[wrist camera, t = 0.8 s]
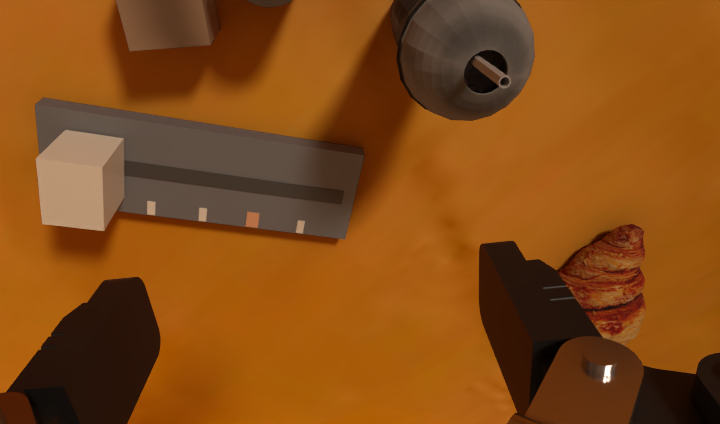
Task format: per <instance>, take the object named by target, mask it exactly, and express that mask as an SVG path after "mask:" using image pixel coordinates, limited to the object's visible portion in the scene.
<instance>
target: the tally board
mask: <svg viewBox="0 0 720 424" xmlns="http://www.w3.org/2000/svg"><path fill="white" fill-rule="evenodd" d="M35 112H36V123H37V133H38V144H39V155H40V154H41V153H42V152H43V151H44V150H45V149H46V148H47V147H48V146H49V145H50V144H51V143H52V142H53V141H54V140H55V139H56V138H57V137H59V136H60V135H61V134H62V133H63V132H64V131H65V130H71V131H78V132H84V133H91V134H98V135H105V136H111V137H118V138H124V199H123V200H122V202H121V204H120V205H119V207H118V209H117V210H116V211H120V212H128V213H136V214H144V215H153V216H161V217H169V218H177V219H185V220H193V221H201V222H209V223H217V224H225V225H234V226H242V227H250V228H258V229H266V230H274V231H282V232H290V233H298V234H307V235H315V236H323V237H331V238H339V239H345V237H346V233H347V229H348V225H349V220H350V216H351V212H352V207H353V203H354V199H355V195H356V190H357V186H358V182H359V177H360V173H361V169H362V165H363V160H364V156H365V155H364V151H363V148H359V147H353V146H346V145H340V144H334V143H327V142H321V141H315V140H308V139H302V138H296V137H289V136H283V135H277V134H270V133H264V132H258V131H251V130H245V129H239V128H232V127H226V126H220V125H213V124H207V123H201V122H194V121H188V120H182V119H175V118H169V117H163V116H156V115H150V114H144V113H137V112H131V111H125V110H118V109H112V108H106V107H99V106H93V105H87V104H80V103H74V102H68V101H61V100H55V99H49V98H43V99H41V100H40V101H39V102H37V103H36V104H35Z"/></svg>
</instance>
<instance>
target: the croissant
mask: <svg viewBox="0 0 720 424" xmlns="http://www.w3.org/2000/svg"><path fill="white" fill-rule="evenodd" d="M643 233H644V231H643V230H642V229H641V228H640V227H638V226H636V225H633V224H630V225H624V226H620V227H618V228H615V229H614V230H613V231H612V232H610V233H609V234H608V235H606V236H605V237H603V238H602V239H601V240H600V241H597V242H595V243H593V244H590V245H588V246H587V247H585V248H582V250H581V251H580V252H579V253H578V254H576V256H575V257H574V259H573V260H572V261H571V262H570V263H569V265H568V266H566V267H564V268H563V269H562V270H560V271H559V273H558V274H559V275H560V277H561V278H562V279H563V281H564V282H565V284H566V287H568V288H569V289H570V291H571V292H572V294H573V295H574V299H576V300H577V301H578V302H579V304H580V305H581V307H582V308H583V310H584V311H585V312H586V314H587V315H588V317H589V318H590V320H591V321H592V323H593V324H594V325H595V327H596V328H597V330H598V331H599V333H600V334H601V335H602V337H603V338H606V339H610V340H613V341H615V342H618V343H620V344H622V345H626V344H627V343H628V342H629V341H630V340H631V339H635V338H636V335H637V334H638V332H639V331H640V325H641V323H642V320H643V319H644V316H645V311H646V306H645V302H644V297H643V294H642V289H643V287H644V283H645V279H644V276H643V274H642V272H641V270H640V267H639V266H640V265H641V264H642V263H643V260H644V257H645V249H644V245H643Z"/></svg>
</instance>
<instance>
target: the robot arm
mask: <svg viewBox="0 0 720 424" xmlns="http://www.w3.org/2000/svg"><path fill="white" fill-rule="evenodd" d="M479 307H480V314H481V319H482V323H483V326H484V328H485V331H486V334H487V336H488V339H489V341H490V344H491V346H492V349H493V351H494V354H495V357H496V359H497V362H498V364H499V367H500V369H501V372H502V374H503V377H504V379H505V382H506V385H507V387H508V390H509V392H510V395H511V397H512V400H513V402H514V405H515V408H516V410H517V413H515V414H514V415H513V416H512V417H511V418H510V419H509V421H508V423H507V424H720V353H715V354H711V355H708V356H706V357H704V358H703V359H702V360H701V361H700V362H699V364H698V367H697V371H696V374H691V373H683V372H676V371H668V370H661V369H655V368H650V367H646V366H643V365H642V362H641V361H640V359H639V358H638V356H637V355H636V354H635V353H634V352H632V351H631V350H630V349H629V348H627V347H625V346H624V345H622V344H620V343H618V342H615V341H613V340H610V339H606V338H603V337H602V335H601V334H600V333H599V331H598V330H597V328H596V327H595V325H594V324H593V323H592V321H591V320H590V318H589V317H588V315H587V314H586V312H585V311H584V310H583V308H582V307H581V305H580V304H579V302H578V301H577V300H576V299H574V295H573V294H572V292H571V291H570V289H569V288H568V287H566V284H565V282H564V281H563V279H562V278H561V277H560V275H559V274H558V272H557V271H556V270H555V269H553V268H552V267H550V266H549V265H547V264H545V263H544V262H542V261H541V260H539V259H537V260H527V261H526V260H525V258H524V256H523V255H522V253H521V251H520V250H519V248H518V247H517V245H516V243H515V242H514V241H505V242H495V243H485V244H481V245H480V250H479ZM159 350H160V332H159V328H158V325H157V322H156V319H155V316H154V312H153V309H152V306H151V303H150V300H149V297H148V294H147V291H146V288H145V285H144V283H143V281H142V280H141V279H140V278H139V277H131V278H121V279H111V280H105V281H103V282H102V283H101V285H100V286H99V287H98V289H97V290H96V291H95V293H94V294H93V295H92V297H91V298H90V300H89V301H88V302H87V303H82V304H81V305H80V306H78V307H77V308H76V309H74V310H73V311H72V312H70V313H69V314H68V315H66V316H65V317H64V318H63V319H62V320H61V321H60V323H59V324H58V325H57V327H56V328H55V329H54V331H53V332H52V333H51V337H48V338H47V340H46V341H45V342H44V343H43V345H42V346H41V350H38V351H37V353H36V354H35V355H34V356H33V358H32V359H31V360H30V362H29V363H28V364H27V366H26V367H25V368H24V369H23V371H22V372H21V373H20V375H19V376H18V377H17V378H16V380H15V381H14V382H13V384H12V385H11V386H10V388H9V389H8V390H7V391H6V392H5V393H0V424H127V423H128V421H129V418H130V416H131V414H132V412H133V410H134V407H135V405H136V403H137V401H138V399H139V397H140V394H141V392H142V390H143V388H144V386H145V383H146V381H147V379H148V377H149V375H150V373H151V370H152V368H153V366H154V364H155V362H156V359H157V357H158V355H159Z"/></svg>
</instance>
